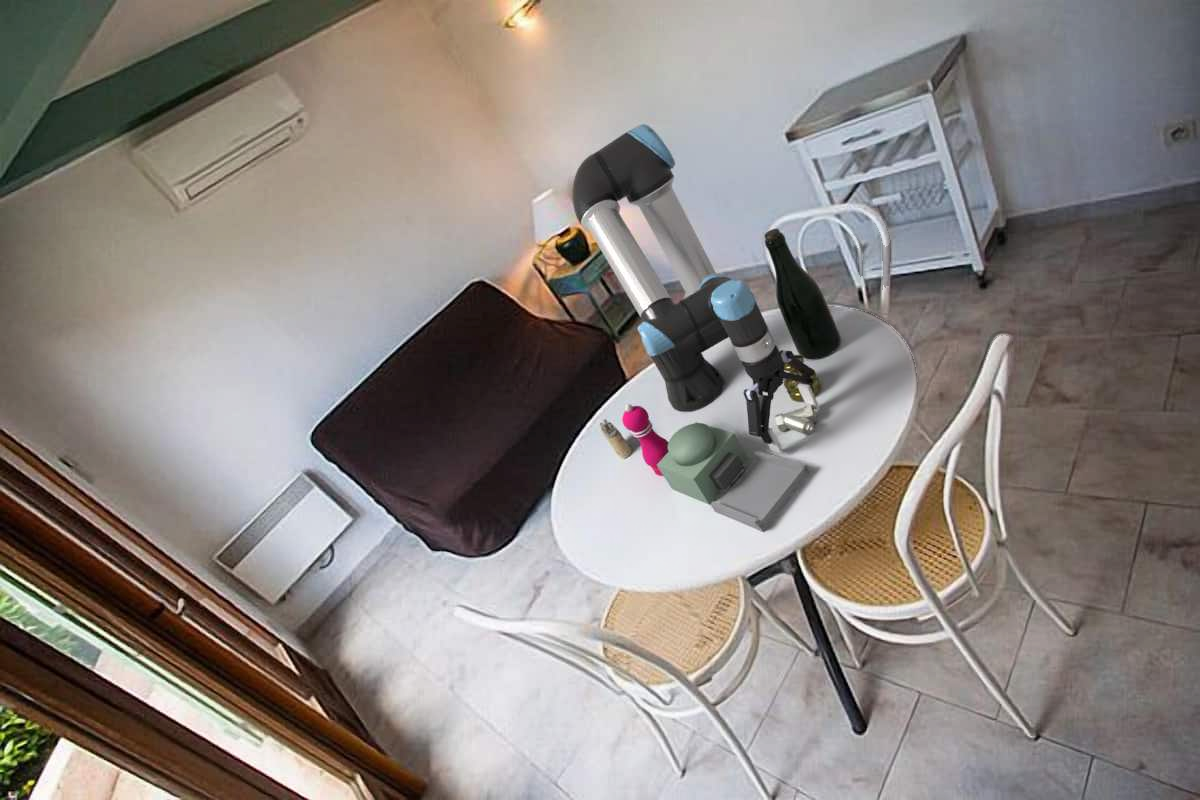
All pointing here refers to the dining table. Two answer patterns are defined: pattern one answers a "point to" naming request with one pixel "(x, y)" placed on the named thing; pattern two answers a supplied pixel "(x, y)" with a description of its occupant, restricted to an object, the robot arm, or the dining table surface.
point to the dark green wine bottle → (801, 302)
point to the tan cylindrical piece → (615, 439)
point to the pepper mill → (645, 436)
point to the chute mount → (762, 490)
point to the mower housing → (702, 461)
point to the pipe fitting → (797, 420)
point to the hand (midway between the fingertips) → (795, 429)
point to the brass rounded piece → (792, 385)
